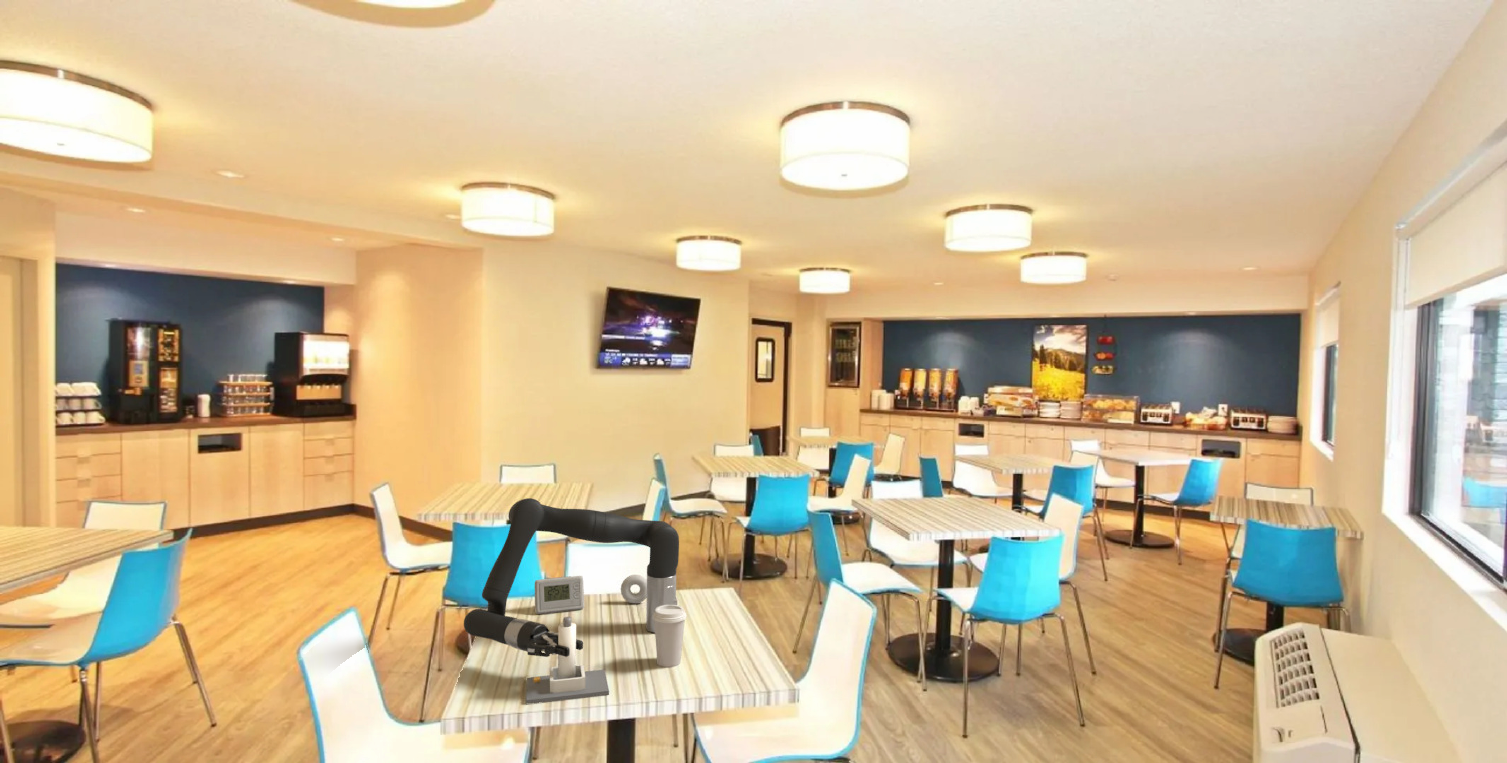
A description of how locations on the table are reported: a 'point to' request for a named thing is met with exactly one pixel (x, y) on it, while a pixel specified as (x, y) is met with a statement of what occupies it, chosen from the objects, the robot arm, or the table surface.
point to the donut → (627, 592)
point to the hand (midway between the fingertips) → (575, 648)
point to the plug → (569, 640)
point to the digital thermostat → (559, 594)
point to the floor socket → (566, 686)
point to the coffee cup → (669, 634)
